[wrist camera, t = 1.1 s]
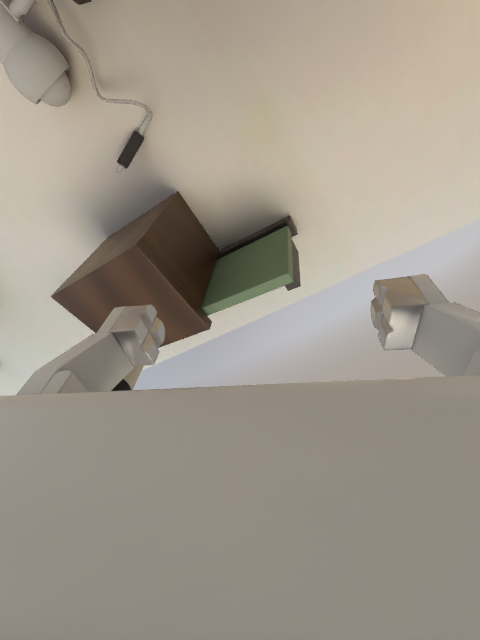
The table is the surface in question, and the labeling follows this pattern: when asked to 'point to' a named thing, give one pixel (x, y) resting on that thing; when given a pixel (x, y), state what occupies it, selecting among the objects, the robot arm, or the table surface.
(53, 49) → the clip-on lamp
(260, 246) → the door
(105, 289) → the cabinet
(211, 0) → the table surface
